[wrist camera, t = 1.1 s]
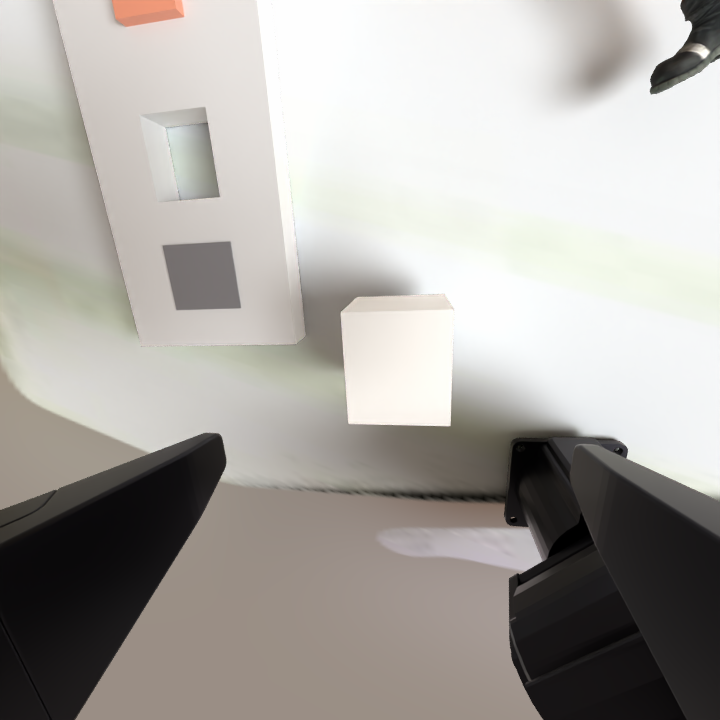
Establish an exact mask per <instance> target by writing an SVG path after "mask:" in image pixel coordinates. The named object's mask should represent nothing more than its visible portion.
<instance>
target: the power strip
mask: <svg viewBox="0 0 720 720" xmlns="http://www.w3.org/2000/svg"><path fill="white" fill-rule="evenodd" d="M52 1H53V5H54V9H55V13H56V17H57V21H58V24H59V28H60V32H61V36H62V40H63V44H64V48H65V52H66V56H67V59H68V63H69V67H70V71H71V75H72V79H73V83H74V87H75V91H76V95H77V98H78V102H79V106H80V110H81V114H82V118H83V122H84V126H85V130H86V133H87V137H88V141H89V145H90V149H91V153H92V157H93V161H94V165H95V168H96V172H97V176H98V180H99V184H100V188H101V192H102V196H103V200H104V204H105V207H106V211H107V215H108V219H109V223H110V227H111V231H112V235H113V239H114V242H115V246H116V250H117V254H118V258H119V262H120V266H121V270H122V274H123V277H124V281H125V285H126V289H127V293H128V297H129V301H130V305H131V309H132V313H133V316H134V320H135V324H136V328H137V332H138V336H139V340H140V344H141V347H144V346H222V345H296V344H297V343H298V342H299V341H301V340H302V339H303V338H304V337H305V336H306V331H305V322H304V312H303V303H302V293H301V283H300V274H299V264H298V254H297V245H296V235H295V226H294V216H293V206H292V197H291V187H290V177H289V168H288V158H287V149H286V139H285V129H284V120H283V110H282V100H281V91H280V81H279V72H278V62H277V52H276V43H275V33H274V23H273V14H272V4H271V0H52ZM200 123H208V126H209V133H210V139H211V145H212V151H213V157H214V163H215V170H216V176H217V182H218V188H219V194H220V197H214V198H202V199H190V200H180V198H179V193H178V188H177V183H176V178H175V172H174V167H173V162H172V157H171V152H170V147H169V142H168V137H167V131H166V128H167V127H175V126H184V125H192V124H200Z"/></svg>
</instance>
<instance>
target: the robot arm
mask: <svg viewBox="0 0 720 720" xmlns="http://www.w3.org/2000/svg"><path fill="white" fill-rule="evenodd" d="M518 445H523V447H522V448H517V446H518ZM616 448H619V450H617V451H614V450H615V449H616ZM627 453H628V449H627V447H626V446H625V445H624V444H623V443H622V442H620V441H616V440H596V439H594V438H573V437H551V438H548V439H543V438H516V439H514V440H513V441H512V442H511V446H510V457H509V468H508V479H507V490H506V500H505V512H504V517H505V520H506V522H507V524H509V525H512V526H522V527H529V529H530V531H531V534H532V536H533V539H534V541H535V544H536V546H537V548H538V551H539V553H540V556H541V558H542V561H543V562H541V563H539V564H537V565H536V566H534V567H532V568H531V569H529V570H527V571H525V572H524V573H522V574H516V575H514V576H512V577H510V578H509V634H510V635H509V639H510V648H511V657H512V661H513V664H514V666H515V667H516V669H517V672H518V674H519V676H520V679H521V681H522V683H523V686H524V688H525V690H526V691H527V693H528V695H529V697H530V699H531V701H532V703H533V705H534V706H535V708H536V709H537V711H538V712H539V714H540V715H541V717H542V718H543V720H720V501H718V500H716V499H714V498H712V497H709V496H707V495H705V494H703V493H701V492H698V491H696V490H694V489H692V488H690V487H687V486H685V485H683V484H681V483H679V482H676V481H674V480H672V479H670V478H668V477H666V476H663V475H661V474H659V473H657V472H655V471H652V470H650V469H648V468H646V467H644V466H641V465H639V464H637V463H635V462H633V461H630V460H628V459H626V457H627ZM225 467H226V455H225V450H224V445H223V440H222V437H221V435H220V434H218V433H203V434H201V435H198V436H195V437H193V438H190V439H187V440H185V441H182V442H180V443H177V444H174V445H172V446H169V447H166V448H164V449H161V450H158V451H156V452H153V453H151V454H148V455H145V456H143V457H140V458H137V459H135V460H132V461H130V462H127V463H124V464H122V465H119V466H116V467H114V468H111V469H109V470H106V471H103V472H101V473H98V474H95V475H93V476H90V477H87V478H85V479H82V480H80V481H77V482H74V483H72V484H69V485H66V486H64V487H61V488H59V489H58V490H53V491H51V492H48V493H45V494H43V495H40V496H37V497H35V498H32V499H29V500H27V501H24V502H21V503H18V504H16V505H13V506H10V507H8V508H5V509H2V510H0V720H75V719H76V718H77V716H78V714H79V713H80V711H81V709H82V708H83V706H84V705H85V703H86V701H87V700H88V698H89V697H90V695H91V693H92V692H93V690H94V688H95V687H96V685H97V684H98V682H99V681H100V679H101V677H102V676H103V674H104V672H105V671H106V669H107V668H108V666H109V664H110V663H111V661H112V660H113V658H114V656H115V654H116V653H117V652H118V650H119V648H120V647H121V645H122V643H123V642H124V640H125V639H126V637H127V635H128V634H129V632H130V631H131V629H132V627H133V626H134V624H135V622H136V621H137V619H138V618H139V616H140V614H141V613H142V611H143V610H144V608H145V606H146V605H147V603H148V602H149V600H150V598H151V597H152V595H153V593H154V592H155V590H156V589H157V587H158V586H159V584H160V582H161V580H162V579H163V577H164V576H165V574H166V573H167V571H168V569H169V568H170V566H171V565H172V563H173V561H174V560H175V558H176V556H177V555H178V553H179V551H180V550H181V549H182V547H183V545H184V544H185V542H186V540H187V539H188V537H189V536H190V534H191V532H192V531H193V529H194V528H195V526H196V524H197V523H198V521H199V519H200V518H201V516H202V514H203V512H204V510H205V508H206V506H207V504H208V502H209V500H210V498H211V496H212V494H213V492H214V490H215V488H216V486H217V484H218V482H219V480H220V478H221V476H222V474H223V472H224V470H225ZM511 517H515V518H512V519H511Z"/></svg>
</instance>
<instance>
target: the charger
mask: <svg viewBox="0 0 720 720" xmlns="http://www.w3.org/2000/svg"><path fill="white" fill-rule="evenodd" d="M340 314H341V328H342V342H343V356H344V370H345V384H346V399H347V413H348V424H374V425H418V426H450V425H451V393H452V360H453V327H454V309H453V307H452V305H451V304H450V302H449V301H448V299H447V297H446V296H445V294H432V295H402V296H372V297H356V298H355V299H354V300H353V301H352V302H351V303H350V304H349V305H348V306H347V307H346V308H345V309H344V310H342V311H341V312H340Z"/></svg>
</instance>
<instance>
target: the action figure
mask: <svg viewBox="0 0 720 720" xmlns="http://www.w3.org/2000/svg"><path fill="white" fill-rule="evenodd" d="M680 6H681V10H682V12H683V14H684V16H685V21H690V22H691V23H692V31H691V33H690V35H689V37H688V39H687V41H686V42H685V44H684V45H683V47H682V48H681V49H680V50H679V51H678V52H677V53H676V55H674V56H673V57H671V58H669V59H667V60H665V61H663V62H662V63H660V64H658V65H657V66H656V68H655V70H654V72H653V74H652V76H651V79H650V82H651V86H652V87H651V89H650V93H651V94H657V93H660V92H663V91H664V90H667V89H669V88H671V87H673V86H674V85H676V84H678V83H680V82H682V81H684V80H686V79H688V78H689V77H692V76H694V75H695V74H697V73H700V72H701V71H702V70H703V69H704V68H705V67H707V66H708V65H709V63H712V62H714V61H715V60H717V59H720V0H682V2H681V5H680Z"/></svg>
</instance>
